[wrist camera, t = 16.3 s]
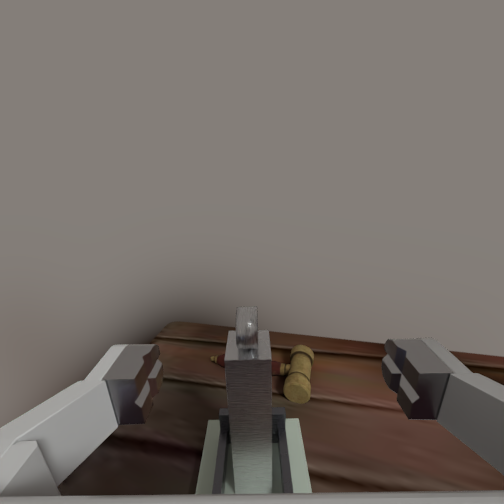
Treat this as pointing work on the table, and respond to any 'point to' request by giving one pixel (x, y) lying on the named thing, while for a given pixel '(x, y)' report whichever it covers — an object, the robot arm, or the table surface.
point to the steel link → (250, 403)
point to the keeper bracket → (283, 457)
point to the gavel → (291, 373)
